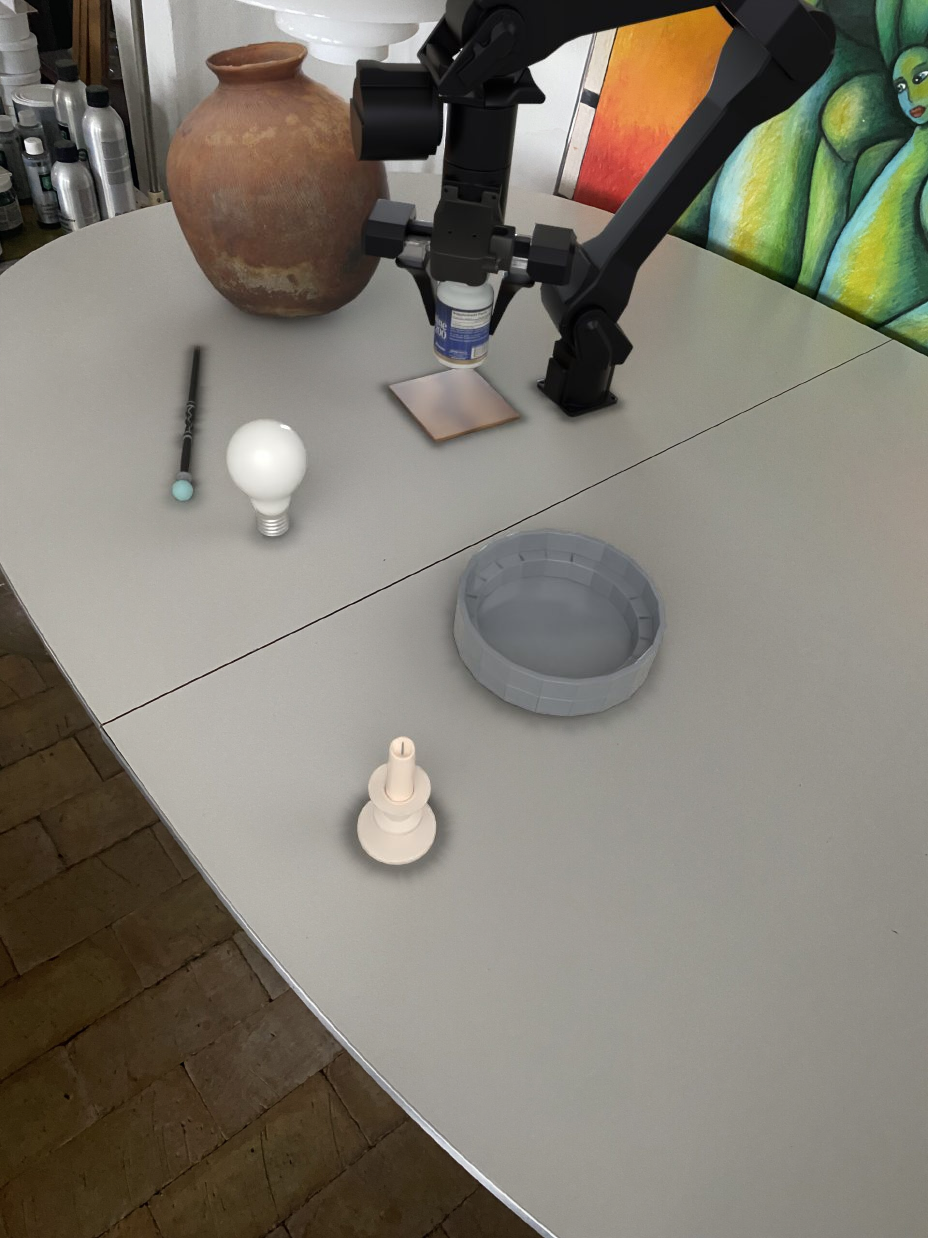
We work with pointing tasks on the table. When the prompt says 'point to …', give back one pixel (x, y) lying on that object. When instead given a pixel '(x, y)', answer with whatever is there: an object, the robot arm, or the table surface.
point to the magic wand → (187, 439)
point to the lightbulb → (267, 469)
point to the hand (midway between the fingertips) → (461, 328)
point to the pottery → (274, 186)
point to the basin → (558, 621)
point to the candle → (398, 809)
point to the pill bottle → (462, 324)
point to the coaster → (453, 403)
